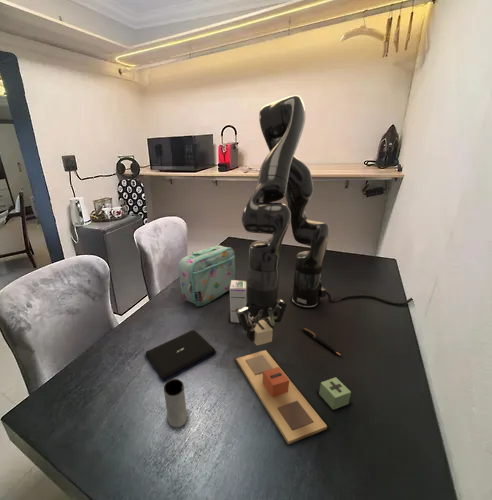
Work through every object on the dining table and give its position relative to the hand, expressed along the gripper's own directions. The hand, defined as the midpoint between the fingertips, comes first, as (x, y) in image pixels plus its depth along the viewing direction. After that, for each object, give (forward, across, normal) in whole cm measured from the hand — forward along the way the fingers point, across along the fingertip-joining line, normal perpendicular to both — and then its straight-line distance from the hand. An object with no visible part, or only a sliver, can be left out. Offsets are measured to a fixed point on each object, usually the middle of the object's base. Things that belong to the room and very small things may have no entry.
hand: (260, 337), depth 72 cm
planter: (+11, -26, -7) cm, 29 cm away
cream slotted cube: (0, 0, 0) cm, 0 cm away
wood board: (+11, 0, -8) cm, 13 cm away
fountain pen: (+11, +23, +2) cm, 26 cm away
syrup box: (+11, +5, +23) cm, 26 cm away
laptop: (+11, -20, +13) cm, 26 cm away
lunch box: (+11, +1, +42) cm, 43 cm away
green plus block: (+11, +12, -15) cm, 22 cm away
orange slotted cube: (+10, 0, -8) cm, 13 cm away
